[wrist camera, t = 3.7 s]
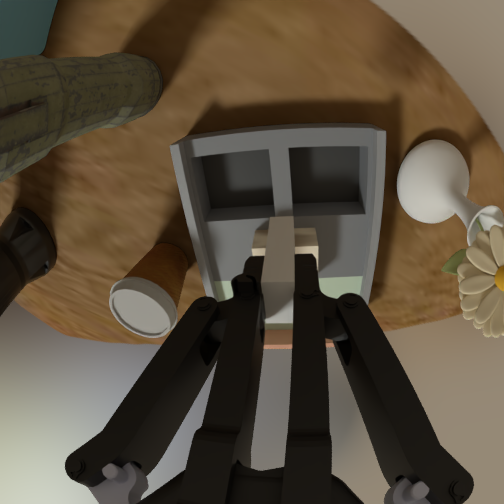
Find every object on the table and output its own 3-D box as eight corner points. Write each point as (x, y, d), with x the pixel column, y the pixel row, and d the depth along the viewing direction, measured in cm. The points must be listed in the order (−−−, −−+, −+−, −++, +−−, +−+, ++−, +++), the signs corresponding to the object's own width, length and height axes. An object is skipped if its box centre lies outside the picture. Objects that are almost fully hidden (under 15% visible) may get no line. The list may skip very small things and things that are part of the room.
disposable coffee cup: (145, 224, 39) (105, 274, 29) (205, 246, 40) (179, 304, 30) (139, 271, 44) (107, 323, 34) (191, 291, 45) (169, 348, 35)
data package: (44, -7, 17) (-9, -10, 7) (62, -12, 17) (7, -19, 7) (28, 57, 24) (-28, 67, 14) (44, 55, 24) (-15, 63, 14)
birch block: (261, 277, 37) (258, 297, 33) (255, 230, 33) (251, 248, 30) (314, 275, 36) (317, 296, 32) (315, 227, 32) (318, 245, 29)
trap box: (226, 316, 47) (218, 347, 42) (186, 135, 31) (164, 148, 25) (355, 312, 44) (362, 344, 38) (370, 123, 28) (391, 133, 22)
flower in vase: (457, 130, 26) (605, 224, 5) (463, 206, 31) (565, 332, 11) (372, 148, 30) (502, 282, 9) (387, 228, 35) (462, 391, 14)
